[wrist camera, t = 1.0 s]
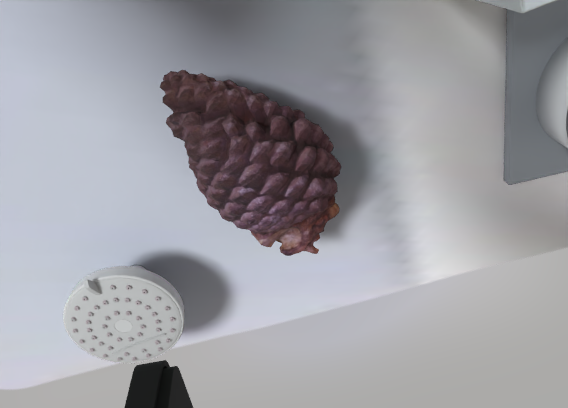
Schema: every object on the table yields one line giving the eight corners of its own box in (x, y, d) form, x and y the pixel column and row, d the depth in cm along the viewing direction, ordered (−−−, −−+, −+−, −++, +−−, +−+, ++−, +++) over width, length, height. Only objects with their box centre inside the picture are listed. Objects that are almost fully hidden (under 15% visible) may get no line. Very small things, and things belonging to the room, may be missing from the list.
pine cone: (131, 95, 37) (102, 146, 28) (230, 5, 35) (231, 31, 26) (278, 239, 45) (291, 314, 36) (367, 174, 42) (404, 237, 34)
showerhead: (141, 261, 36) (203, 349, 41) (154, 211, 42) (206, 292, 47) (28, 306, 37) (102, 386, 41) (57, 250, 43) (118, 326, 48)
